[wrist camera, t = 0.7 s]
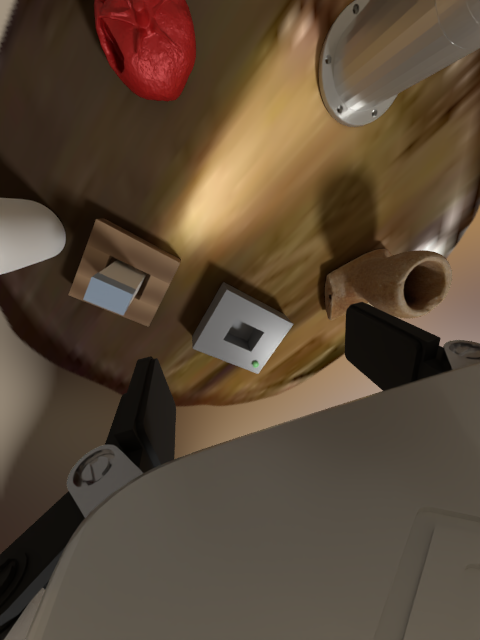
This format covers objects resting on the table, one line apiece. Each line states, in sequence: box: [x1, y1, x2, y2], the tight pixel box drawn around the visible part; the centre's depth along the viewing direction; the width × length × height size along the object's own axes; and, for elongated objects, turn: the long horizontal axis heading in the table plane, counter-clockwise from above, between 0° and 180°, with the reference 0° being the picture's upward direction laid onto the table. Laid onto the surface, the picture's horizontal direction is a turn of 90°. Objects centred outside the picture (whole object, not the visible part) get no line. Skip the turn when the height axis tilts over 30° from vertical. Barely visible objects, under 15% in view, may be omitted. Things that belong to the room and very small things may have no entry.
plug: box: [83, 260, 147, 315], centre depth 32 cm, size 3×5×11 cm
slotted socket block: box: [69, 218, 181, 327], centre depth 36 cm, size 12×12×3 cm
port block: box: [192, 282, 293, 374], centre depth 43 cm, size 12×14×5 cm
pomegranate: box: [94, 0, 196, 101], centre depth 24 cm, size 10×10×9 cm
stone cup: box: [325, 249, 452, 320], centre depth 39 cm, size 15×12×15 cm
